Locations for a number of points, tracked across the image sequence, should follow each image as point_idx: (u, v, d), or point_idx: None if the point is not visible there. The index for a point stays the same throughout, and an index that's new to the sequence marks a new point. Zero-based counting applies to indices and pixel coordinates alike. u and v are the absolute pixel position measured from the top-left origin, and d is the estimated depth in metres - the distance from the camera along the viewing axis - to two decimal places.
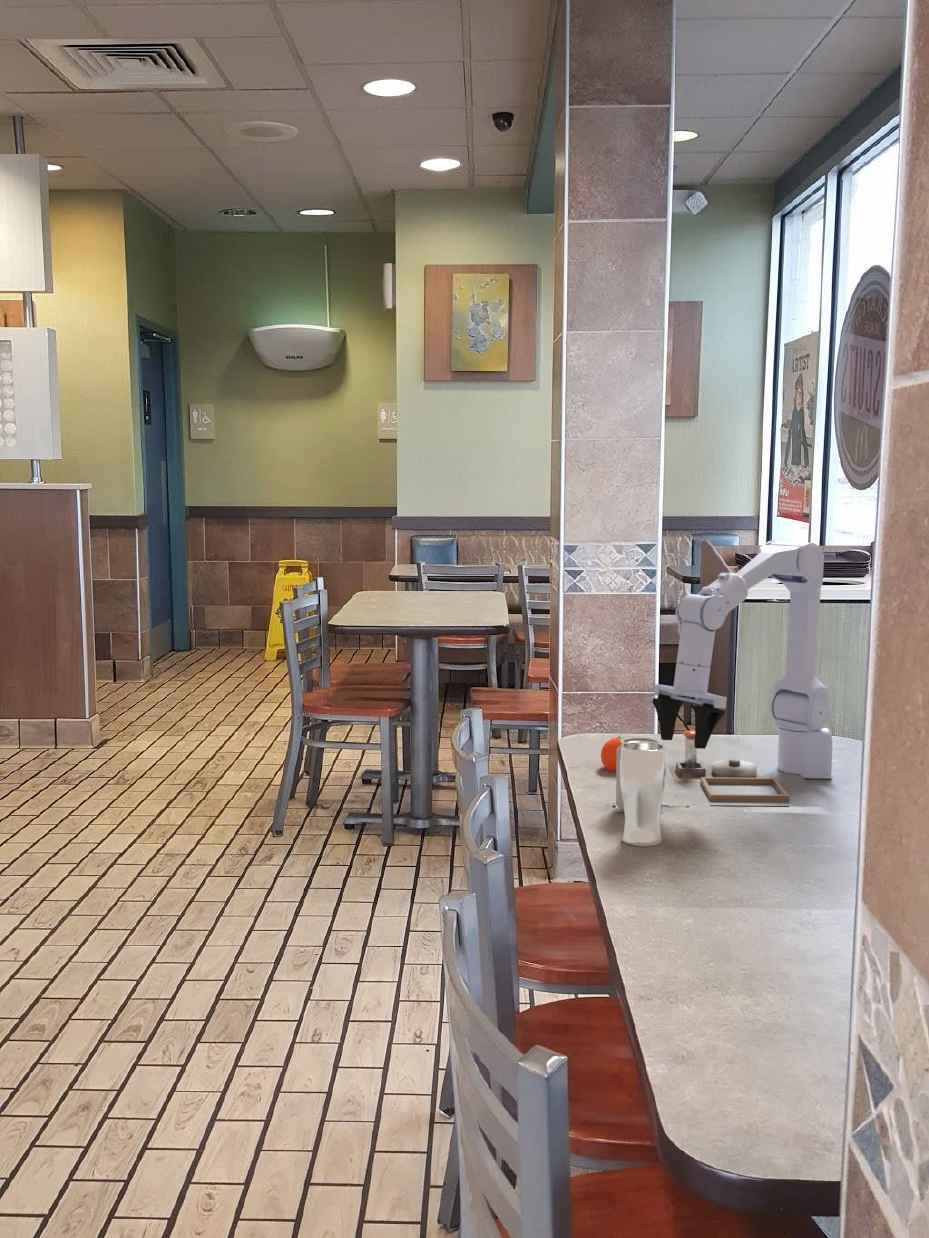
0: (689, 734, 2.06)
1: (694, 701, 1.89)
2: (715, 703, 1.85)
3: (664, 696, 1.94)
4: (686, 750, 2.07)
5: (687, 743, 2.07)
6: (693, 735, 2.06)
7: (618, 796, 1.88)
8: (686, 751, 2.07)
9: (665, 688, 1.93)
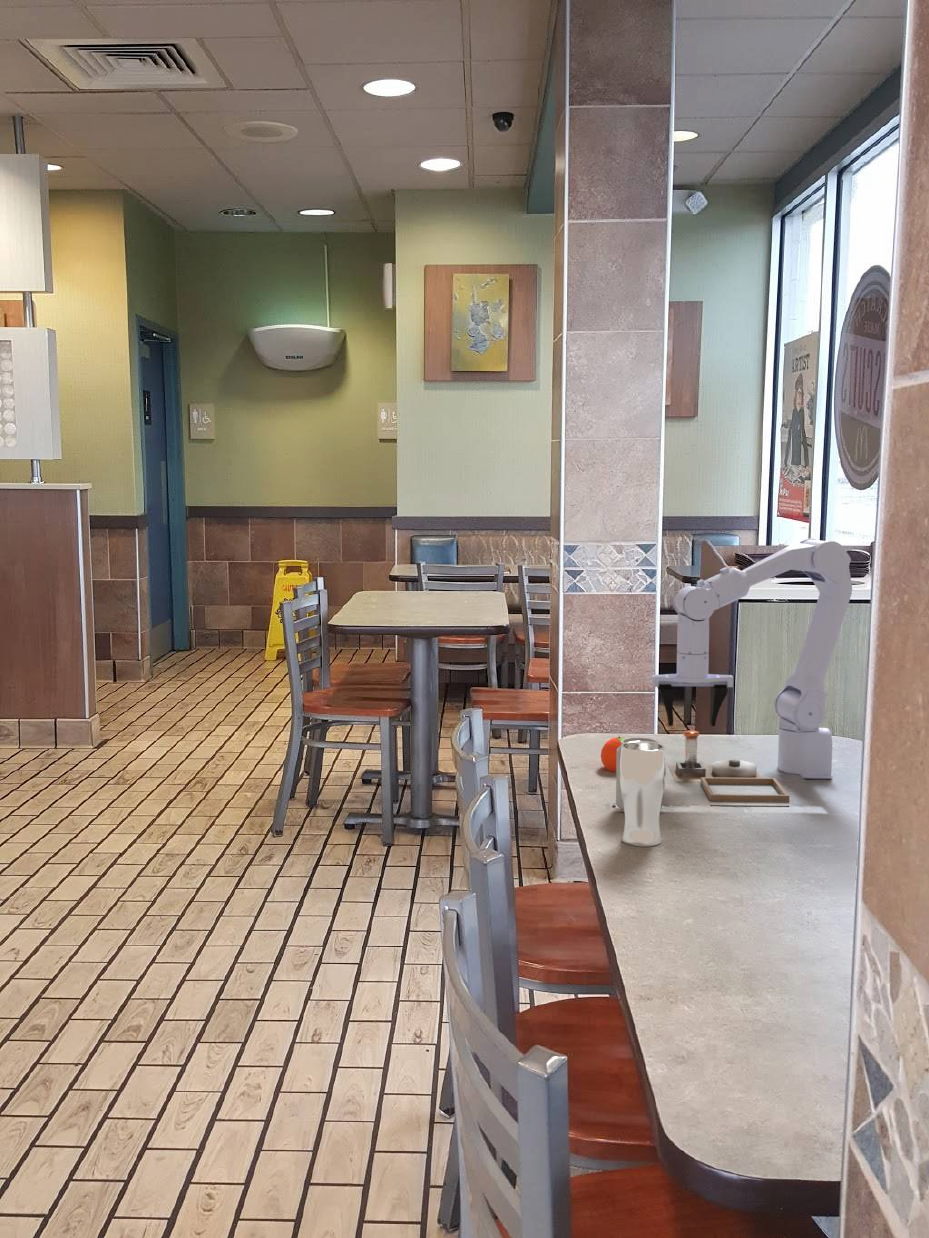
0: (689, 734, 2.06)
1: None
2: None
3: None
4: (686, 750, 2.07)
5: (687, 743, 2.07)
6: (693, 735, 2.06)
7: (618, 796, 1.88)
8: (686, 751, 2.07)
9: (712, 675, 2.08)
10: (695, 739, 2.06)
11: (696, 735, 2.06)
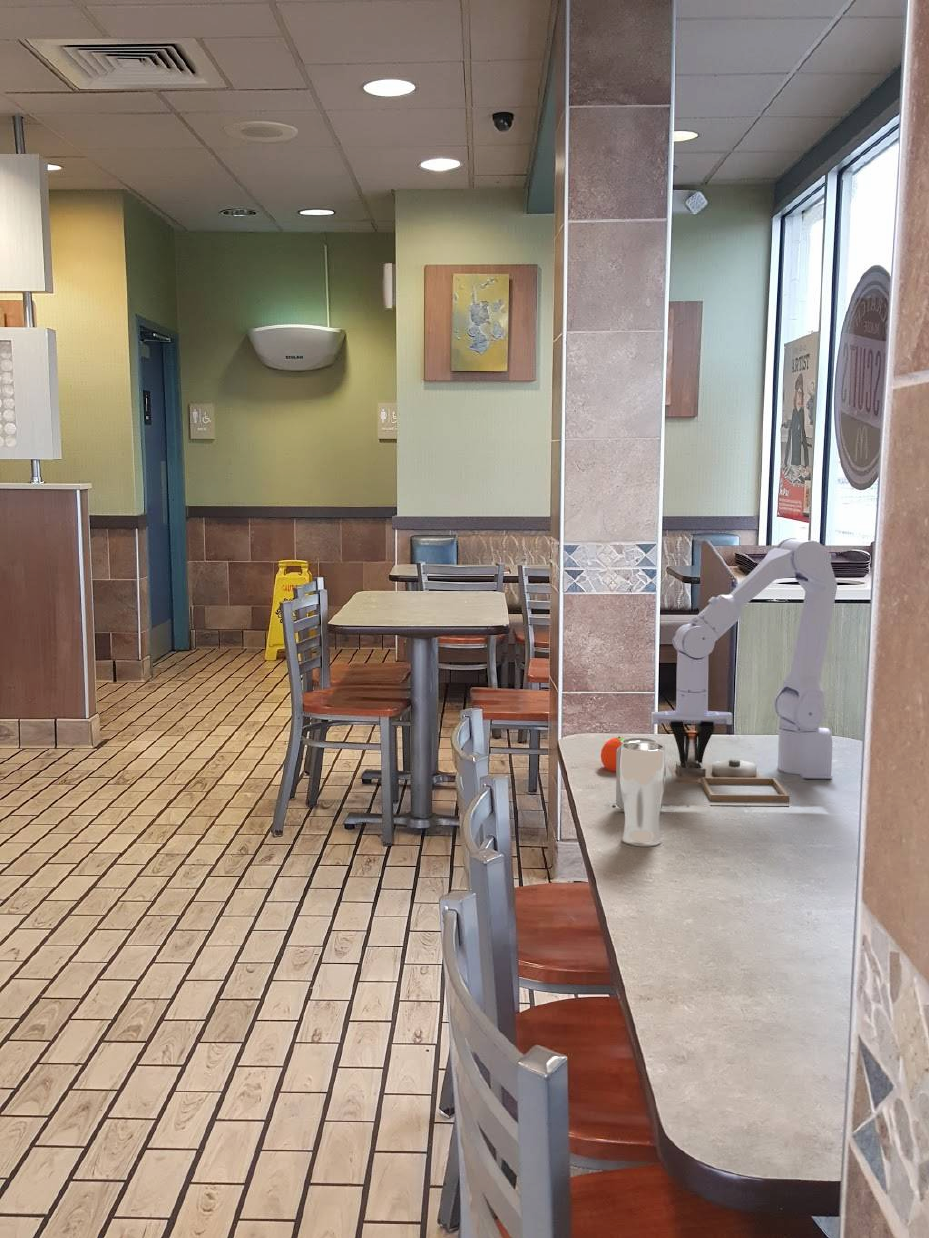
0: (689, 734, 2.06)
1: None
2: None
3: None
4: (686, 750, 2.07)
5: (687, 743, 2.07)
6: (693, 735, 2.06)
7: (618, 796, 1.88)
8: (686, 751, 2.07)
9: (711, 712, 2.08)
10: (695, 739, 2.06)
11: (696, 735, 2.06)
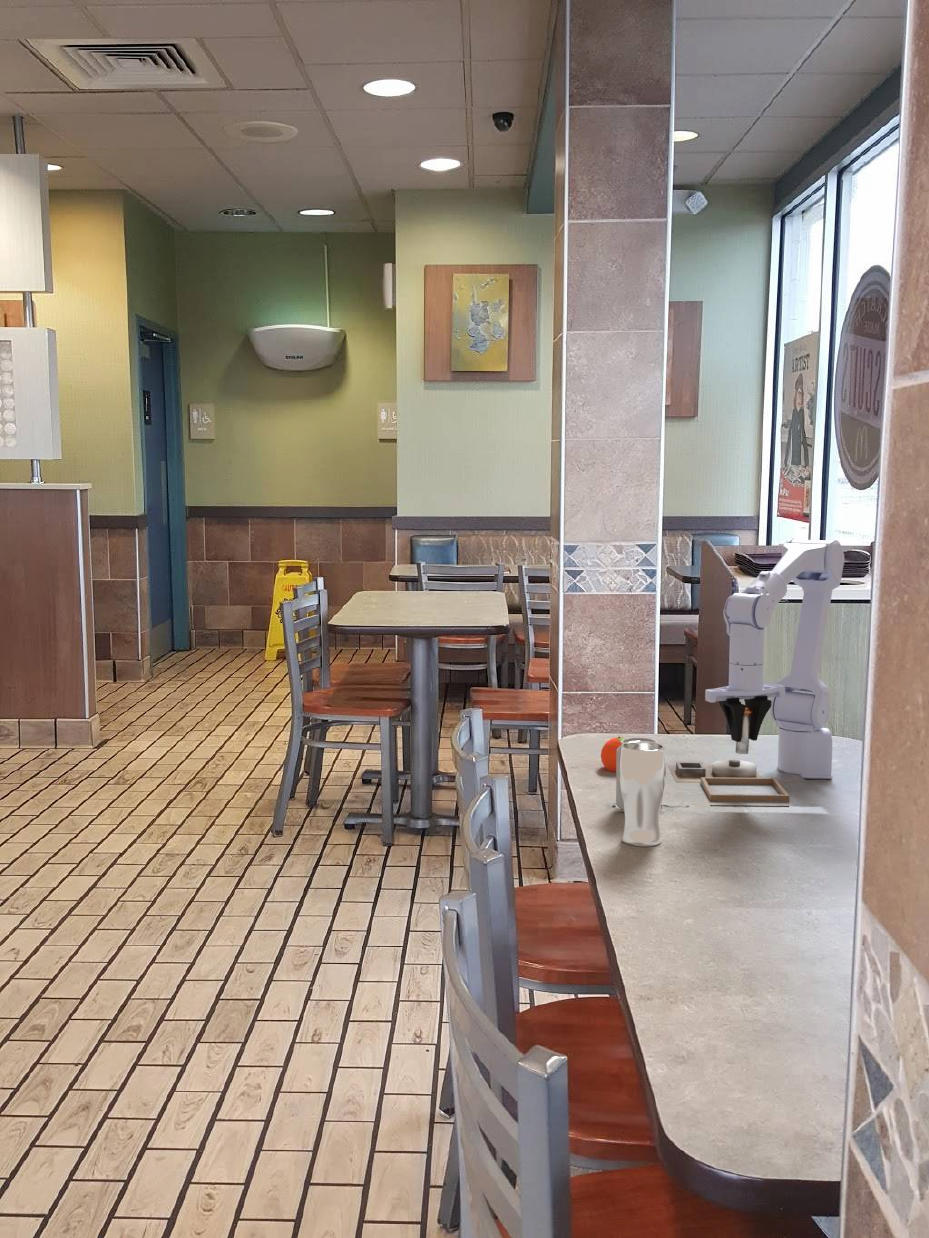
0: (746, 711, 1.93)
1: None
2: None
3: None
4: None
5: None
6: (750, 712, 1.93)
7: (618, 796, 1.88)
8: None
9: None
10: (750, 716, 1.94)
11: (752, 711, 1.93)
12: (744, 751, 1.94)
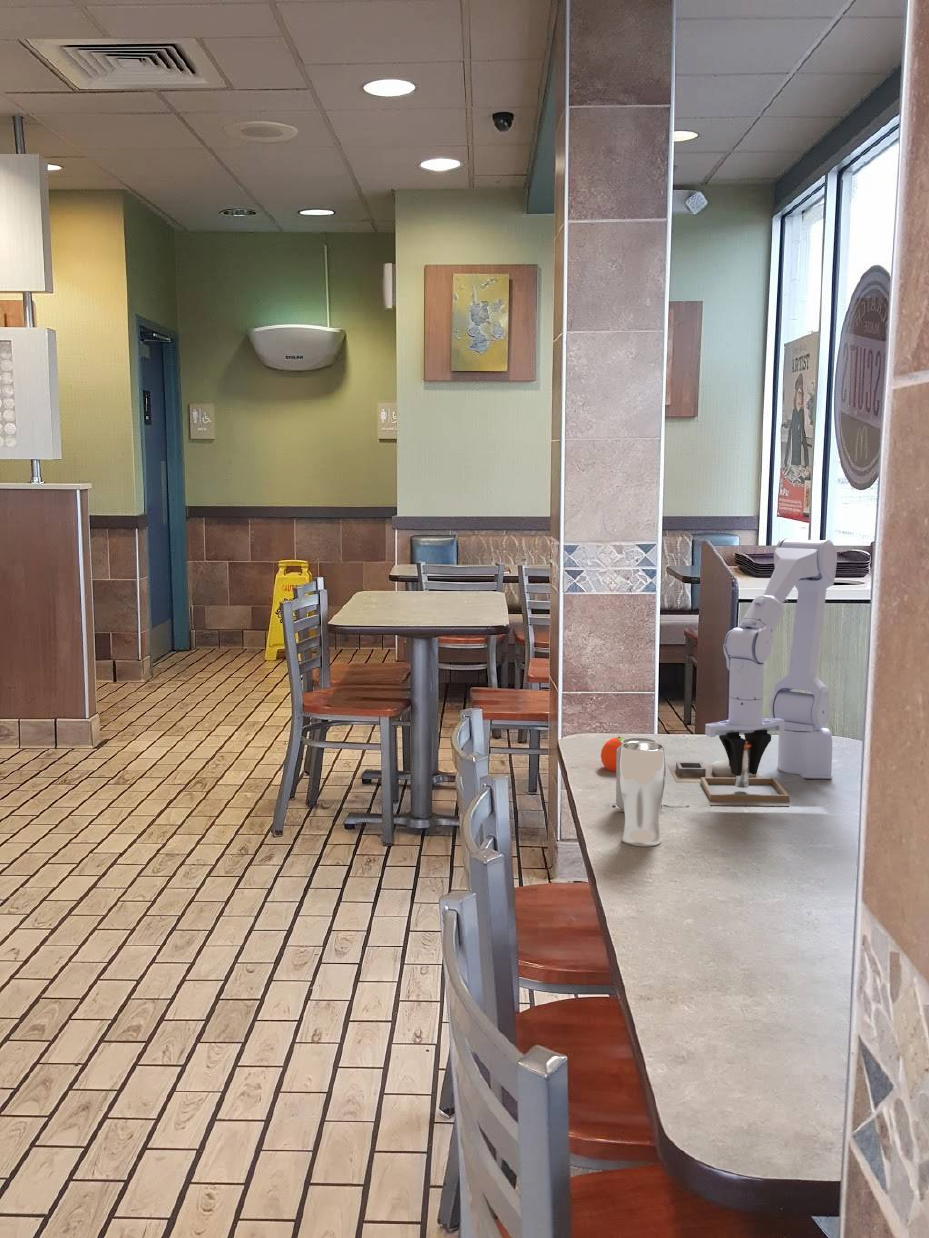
0: (746, 745, 1.94)
1: None
2: None
3: None
4: None
5: None
6: (750, 746, 1.94)
7: (618, 796, 1.88)
8: None
9: None
10: (750, 750, 1.94)
11: (752, 745, 1.94)
12: (744, 785, 1.95)
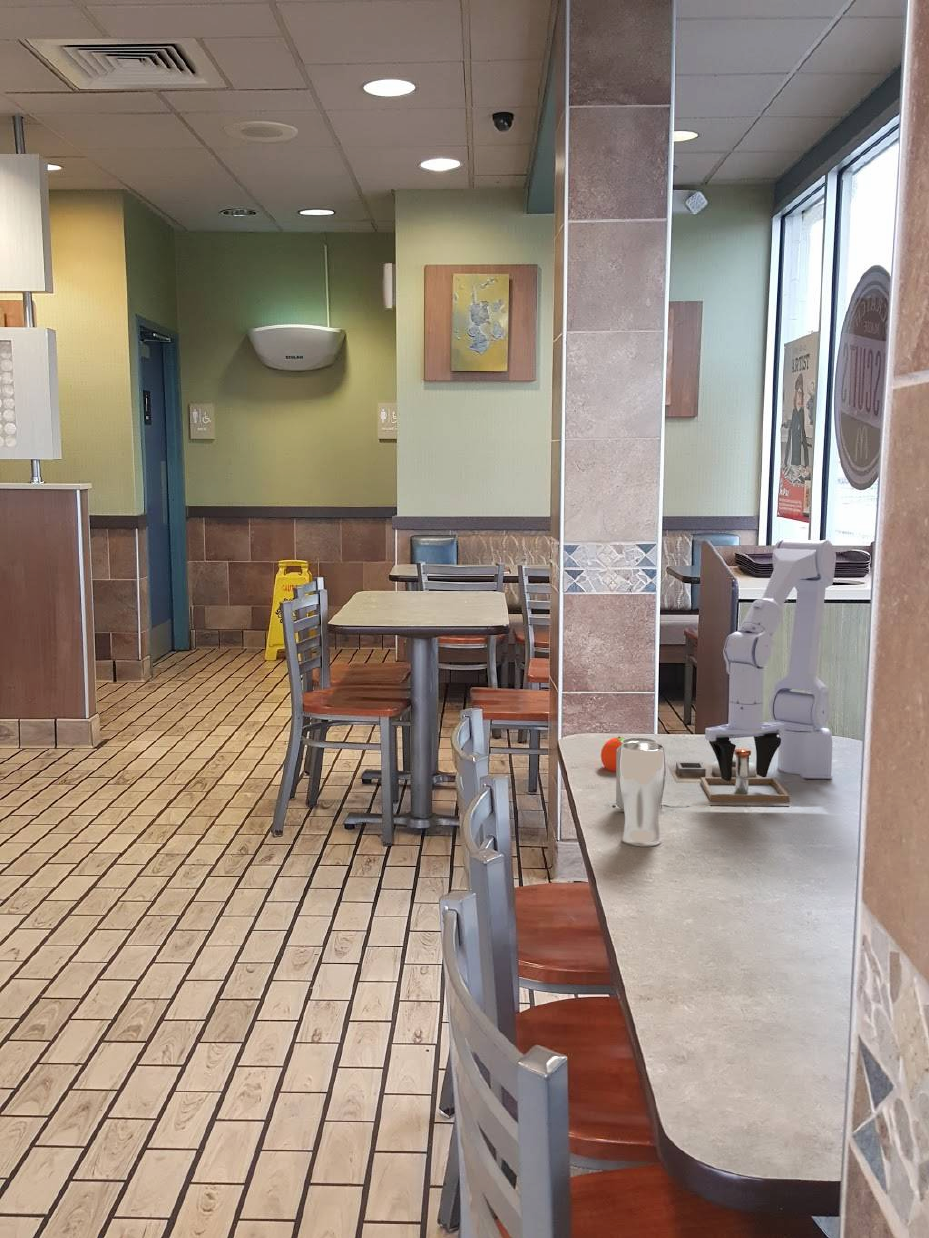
0: (744, 753, 1.94)
1: (736, 735, 1.94)
2: None
3: None
4: (739, 770, 1.95)
5: (741, 763, 1.94)
6: (748, 754, 1.94)
7: (618, 796, 1.88)
8: (739, 771, 1.95)
9: None
10: (748, 758, 1.95)
11: (750, 753, 1.94)
12: None
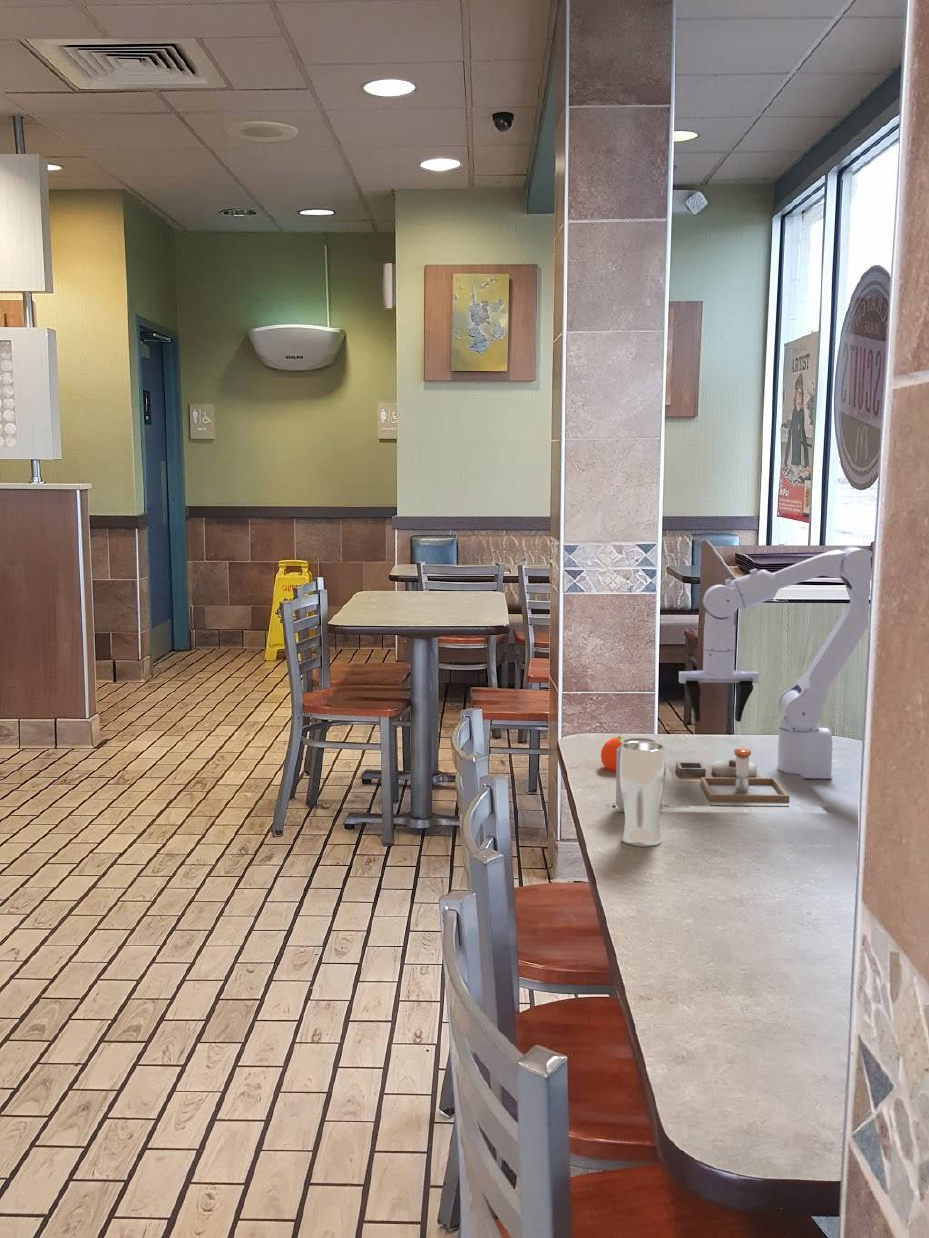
0: (744, 753, 1.94)
1: None
2: None
3: None
4: (739, 770, 1.95)
5: (741, 763, 1.94)
6: (748, 753, 1.94)
7: (618, 796, 1.88)
8: (739, 771, 1.95)
9: (737, 672, 2.12)
10: (748, 757, 1.95)
11: (750, 753, 1.94)
12: None
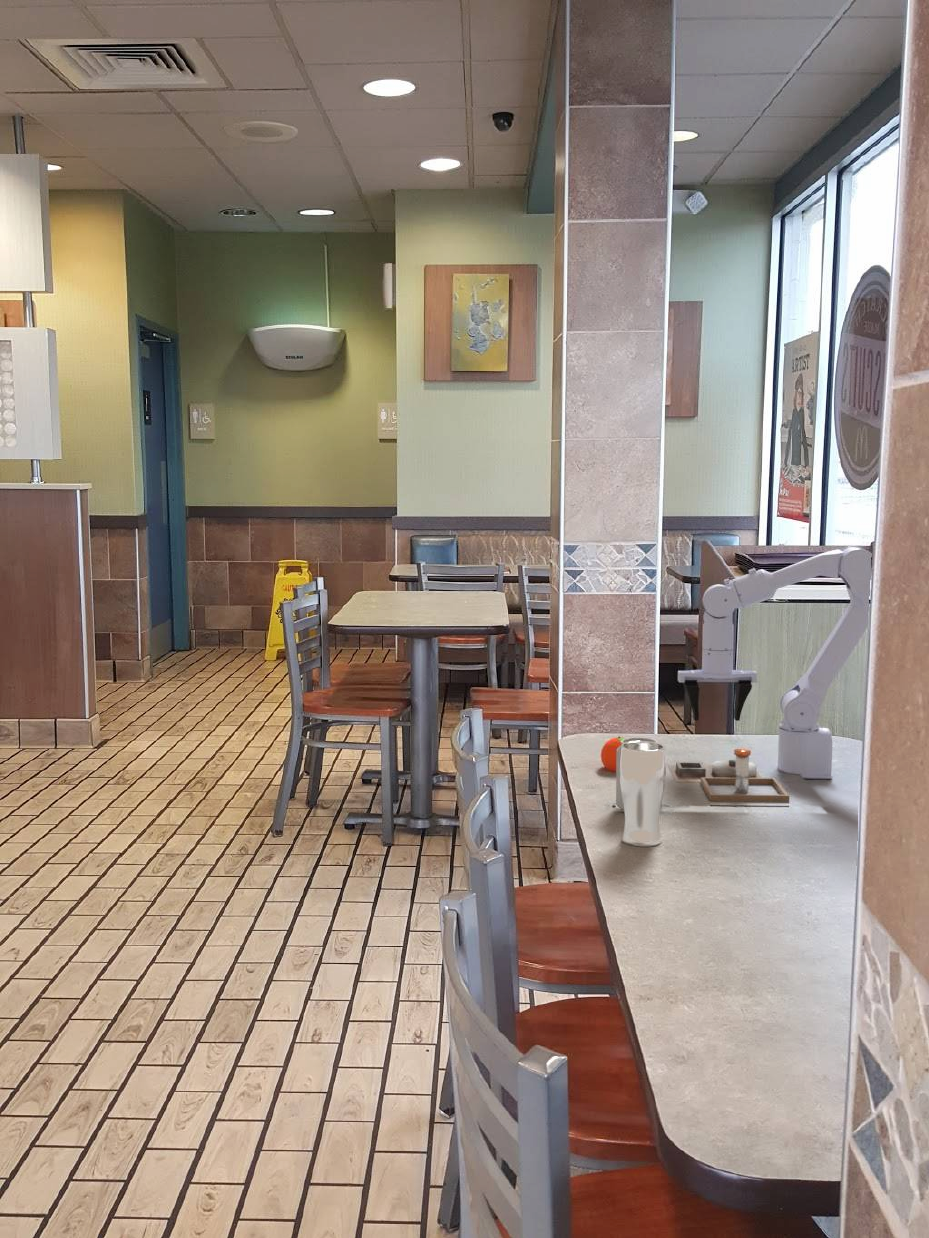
0: (744, 753, 1.94)
1: None
2: None
3: None
4: (739, 770, 1.95)
5: (740, 763, 1.94)
6: (748, 753, 1.94)
7: (618, 796, 1.88)
8: (739, 771, 1.95)
9: (736, 671, 2.13)
10: (748, 757, 1.95)
11: (750, 753, 1.94)
12: None
